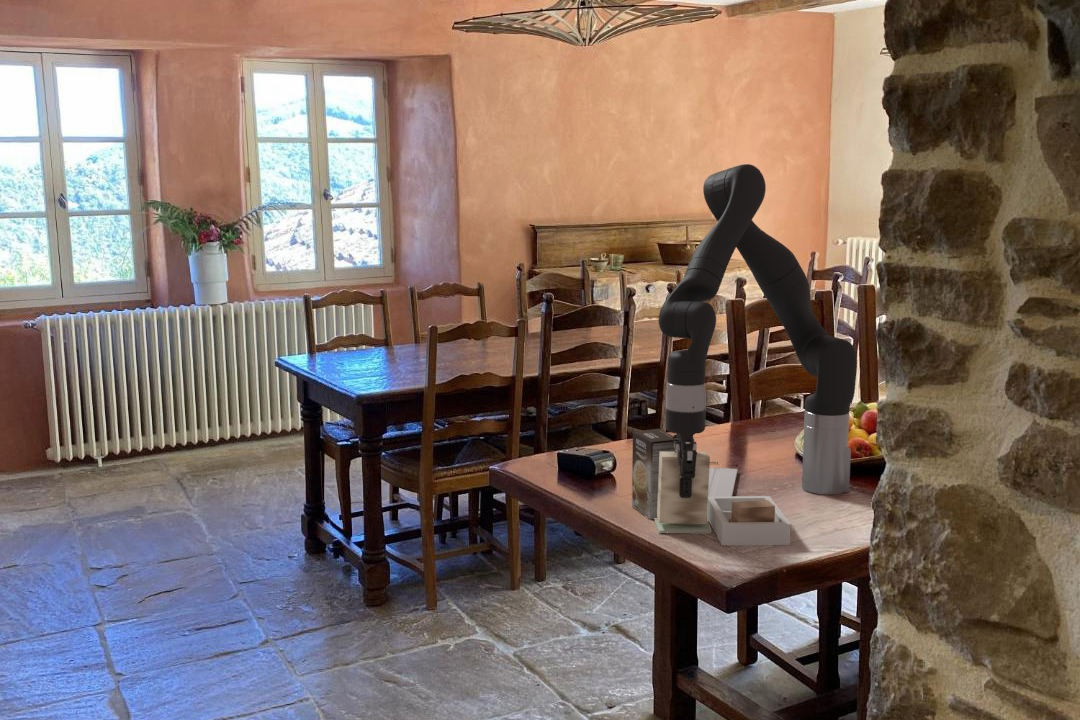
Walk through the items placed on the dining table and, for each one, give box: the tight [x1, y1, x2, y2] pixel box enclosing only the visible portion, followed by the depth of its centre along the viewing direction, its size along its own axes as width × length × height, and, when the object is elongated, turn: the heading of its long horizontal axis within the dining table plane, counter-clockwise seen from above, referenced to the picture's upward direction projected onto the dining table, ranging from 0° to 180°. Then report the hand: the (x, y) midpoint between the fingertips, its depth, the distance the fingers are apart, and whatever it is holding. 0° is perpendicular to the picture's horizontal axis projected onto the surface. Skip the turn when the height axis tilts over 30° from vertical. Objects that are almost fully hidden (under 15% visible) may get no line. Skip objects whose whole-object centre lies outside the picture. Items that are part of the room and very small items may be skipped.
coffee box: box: [631, 428, 674, 520], centre depth 209 cm, size 9×6×16 cm
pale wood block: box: [657, 451, 711, 524], centre depth 199 cm, size 9×4×13 cm, turn 91°
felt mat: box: [654, 519, 713, 534], centre depth 201 cm, size 10×7×1 cm
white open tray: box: [707, 495, 791, 547], centre depth 199 cm, size 12×17×4 cm
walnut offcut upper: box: [731, 500, 775, 523], centre depth 193 cm, size 7×4×4 cm, turn 99°
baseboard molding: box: [708, 461, 738, 497], centre depth 224 cm, size 31×3×12 cm
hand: (683, 493), depth 199 cm, fingers closed on pale wood block, 4 cm apart
